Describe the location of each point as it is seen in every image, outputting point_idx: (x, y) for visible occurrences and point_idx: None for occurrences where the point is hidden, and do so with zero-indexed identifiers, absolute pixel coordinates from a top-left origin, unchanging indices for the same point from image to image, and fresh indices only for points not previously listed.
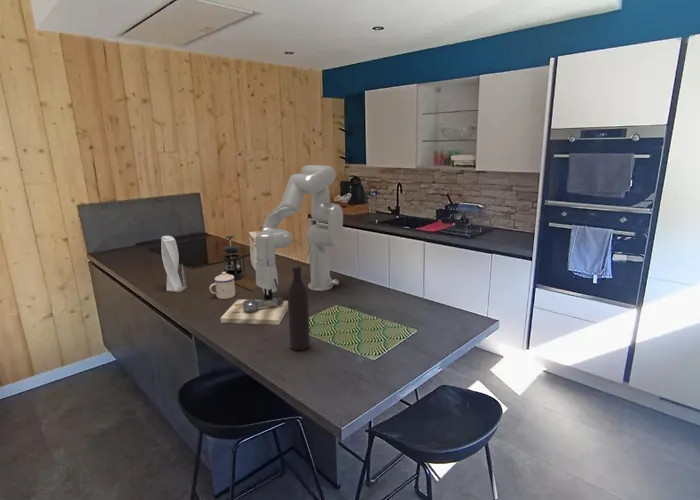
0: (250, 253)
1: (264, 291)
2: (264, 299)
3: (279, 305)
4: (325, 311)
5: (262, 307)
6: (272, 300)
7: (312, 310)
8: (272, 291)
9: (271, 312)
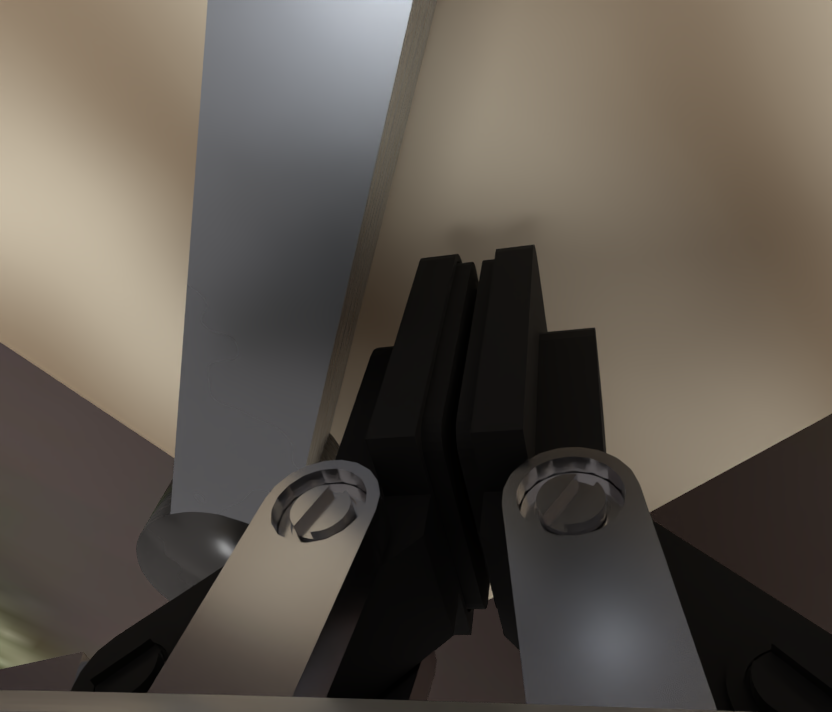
0: None
1: (511, 547)
2: (527, 296)
3: (339, 432)
4: None
5: (479, 87)
6: (185, 398)
7: (98, 618)
8: (32, 689)
9: (28, 116)
